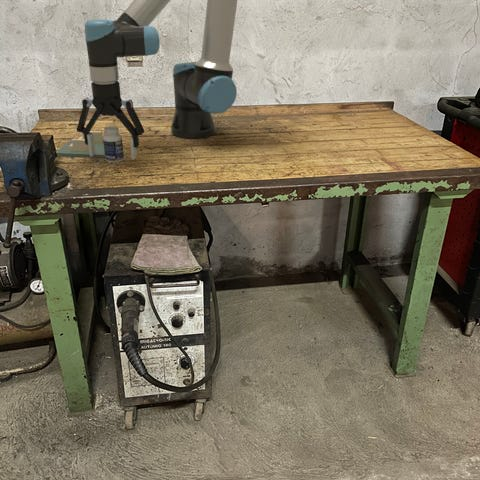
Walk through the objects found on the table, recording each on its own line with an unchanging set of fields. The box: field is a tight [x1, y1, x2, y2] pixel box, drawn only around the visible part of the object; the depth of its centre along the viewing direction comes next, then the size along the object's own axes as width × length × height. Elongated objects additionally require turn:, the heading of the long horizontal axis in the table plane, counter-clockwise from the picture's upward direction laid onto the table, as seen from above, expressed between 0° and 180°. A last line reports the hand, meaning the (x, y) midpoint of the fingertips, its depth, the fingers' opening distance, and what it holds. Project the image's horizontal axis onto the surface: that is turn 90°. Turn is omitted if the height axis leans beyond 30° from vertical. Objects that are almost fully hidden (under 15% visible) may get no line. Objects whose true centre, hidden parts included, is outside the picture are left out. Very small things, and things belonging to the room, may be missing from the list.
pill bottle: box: [102, 125, 125, 164], centre depth 145 cm, size 5×5×10 cm
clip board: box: [55, 130, 105, 159], centre depth 155 cm, size 16×14×4 cm
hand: (113, 156), depth 147 cm, fingers open, 12 cm apart
